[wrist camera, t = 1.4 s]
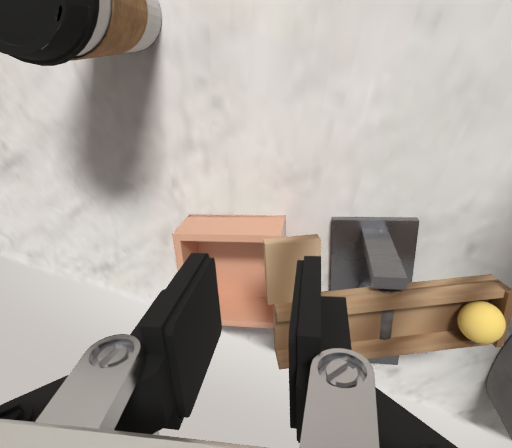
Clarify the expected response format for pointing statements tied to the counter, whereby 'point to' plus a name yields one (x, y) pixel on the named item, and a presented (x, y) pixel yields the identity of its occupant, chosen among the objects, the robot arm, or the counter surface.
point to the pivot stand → (373, 256)
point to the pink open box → (234, 261)
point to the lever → (382, 306)
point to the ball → (481, 322)
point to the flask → (502, 385)
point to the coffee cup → (76, 28)
